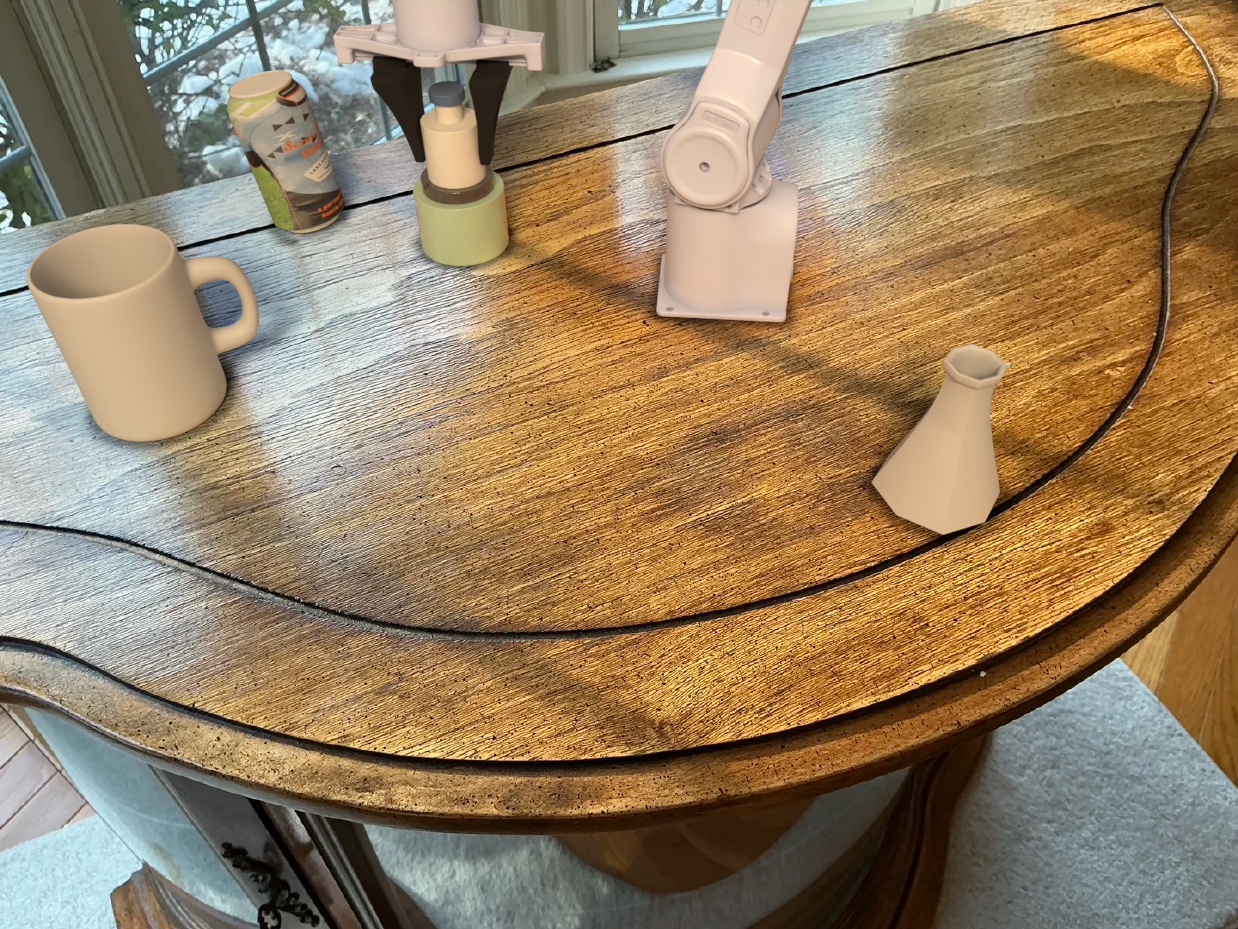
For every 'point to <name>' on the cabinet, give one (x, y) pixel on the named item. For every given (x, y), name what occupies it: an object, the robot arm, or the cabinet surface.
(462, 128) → the cream bottle
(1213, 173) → the cabinet surface
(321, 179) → the beverage can
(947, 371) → the flask
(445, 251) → the sage jar
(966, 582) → the cabinet surface
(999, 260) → the cabinet surface
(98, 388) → the mug
